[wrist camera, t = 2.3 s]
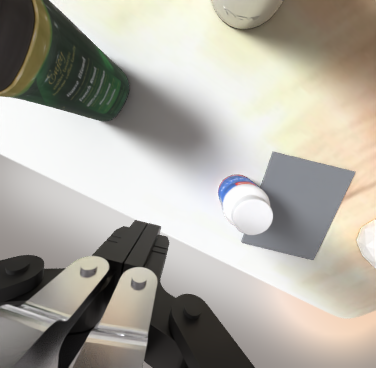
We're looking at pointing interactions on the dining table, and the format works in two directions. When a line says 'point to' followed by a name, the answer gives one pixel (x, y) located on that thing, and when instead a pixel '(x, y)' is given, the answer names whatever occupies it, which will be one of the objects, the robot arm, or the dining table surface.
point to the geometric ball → (368, 242)
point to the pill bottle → (245, 205)
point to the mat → (300, 204)
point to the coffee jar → (56, 62)
